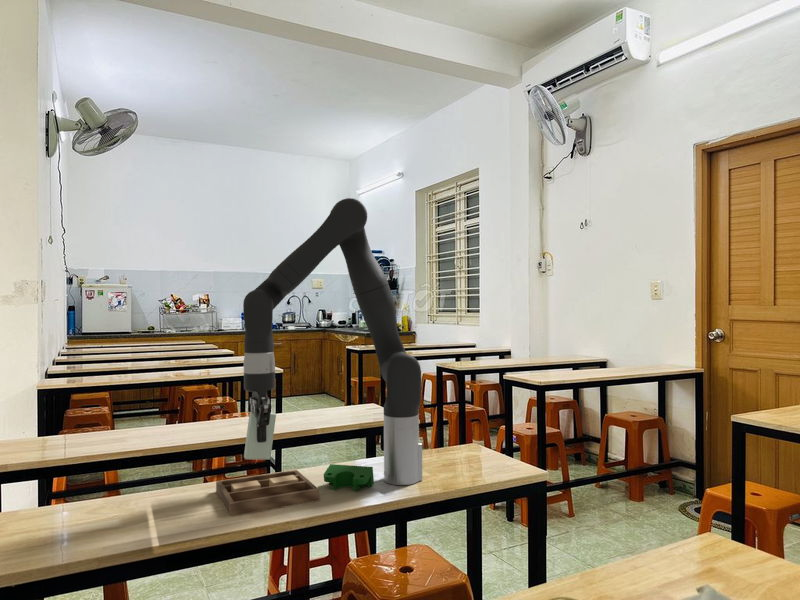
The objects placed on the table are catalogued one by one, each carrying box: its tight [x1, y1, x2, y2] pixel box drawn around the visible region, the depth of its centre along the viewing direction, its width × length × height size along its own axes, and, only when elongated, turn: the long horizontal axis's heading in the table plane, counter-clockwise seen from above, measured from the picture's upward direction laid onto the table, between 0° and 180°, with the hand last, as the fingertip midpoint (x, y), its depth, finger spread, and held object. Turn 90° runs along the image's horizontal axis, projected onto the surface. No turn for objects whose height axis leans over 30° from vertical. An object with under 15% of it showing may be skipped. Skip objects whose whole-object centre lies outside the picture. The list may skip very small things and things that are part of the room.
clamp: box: [323, 463, 375, 493], centre depth 137 cm, size 12×6×9 cm, turn 71°
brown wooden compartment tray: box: [215, 469, 320, 517], centre depth 132 cm, size 20×18×4 cm
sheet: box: [243, 411, 277, 460], centre depth 137 cm, size 6×2×11 cm, turn 117°
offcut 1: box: [231, 480, 261, 492], centre depth 131 cm, size 6×4×3 cm, turn 117°
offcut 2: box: [269, 475, 298, 486], centre depth 135 cm, size 6×4×3 cm, turn 117°
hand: (260, 440), depth 137 cm, fingers closed on sheet, 2 cm apart
